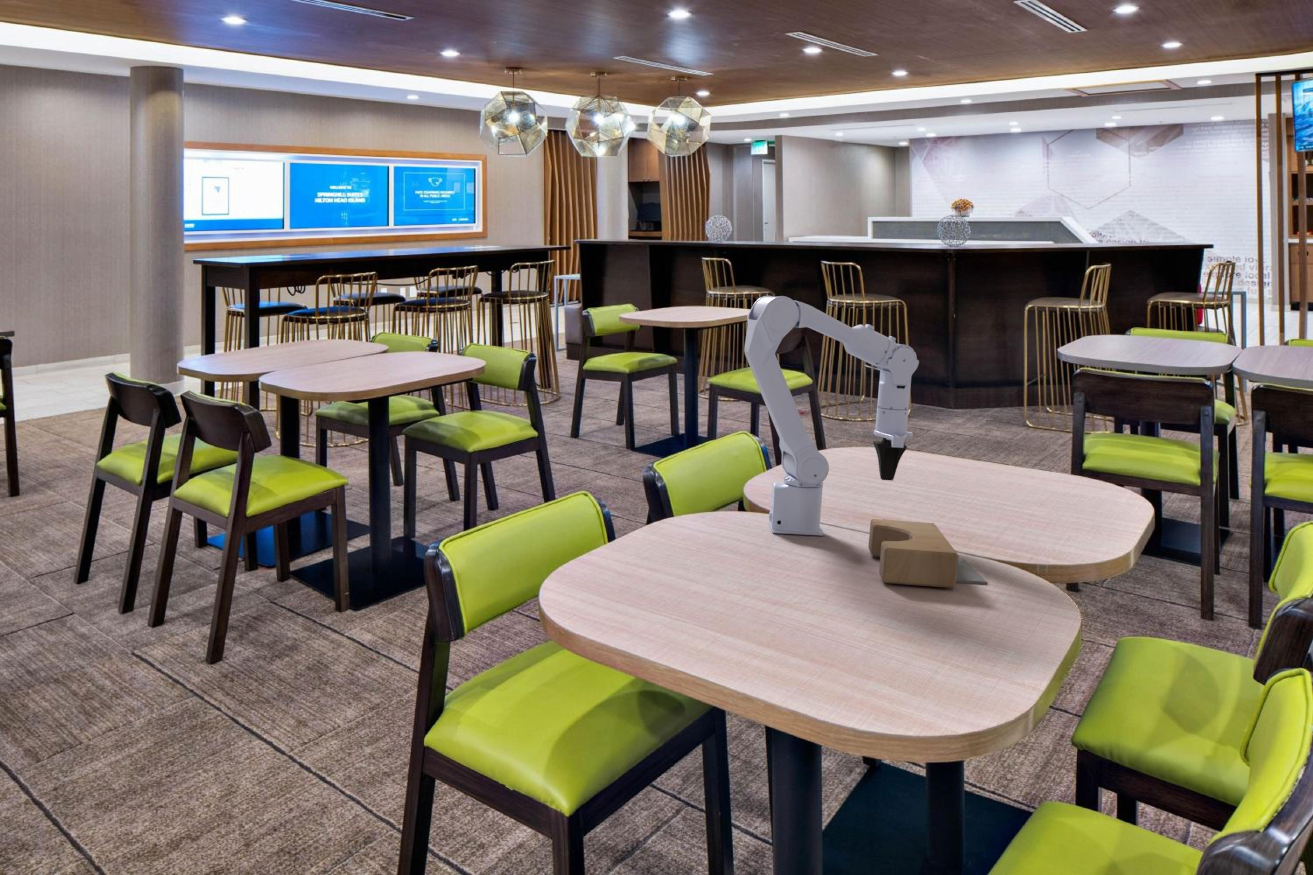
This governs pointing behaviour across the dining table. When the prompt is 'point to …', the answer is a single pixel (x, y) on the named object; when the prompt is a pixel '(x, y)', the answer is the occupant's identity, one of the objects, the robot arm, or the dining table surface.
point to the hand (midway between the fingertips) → (886, 479)
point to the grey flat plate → (968, 574)
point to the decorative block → (913, 553)
